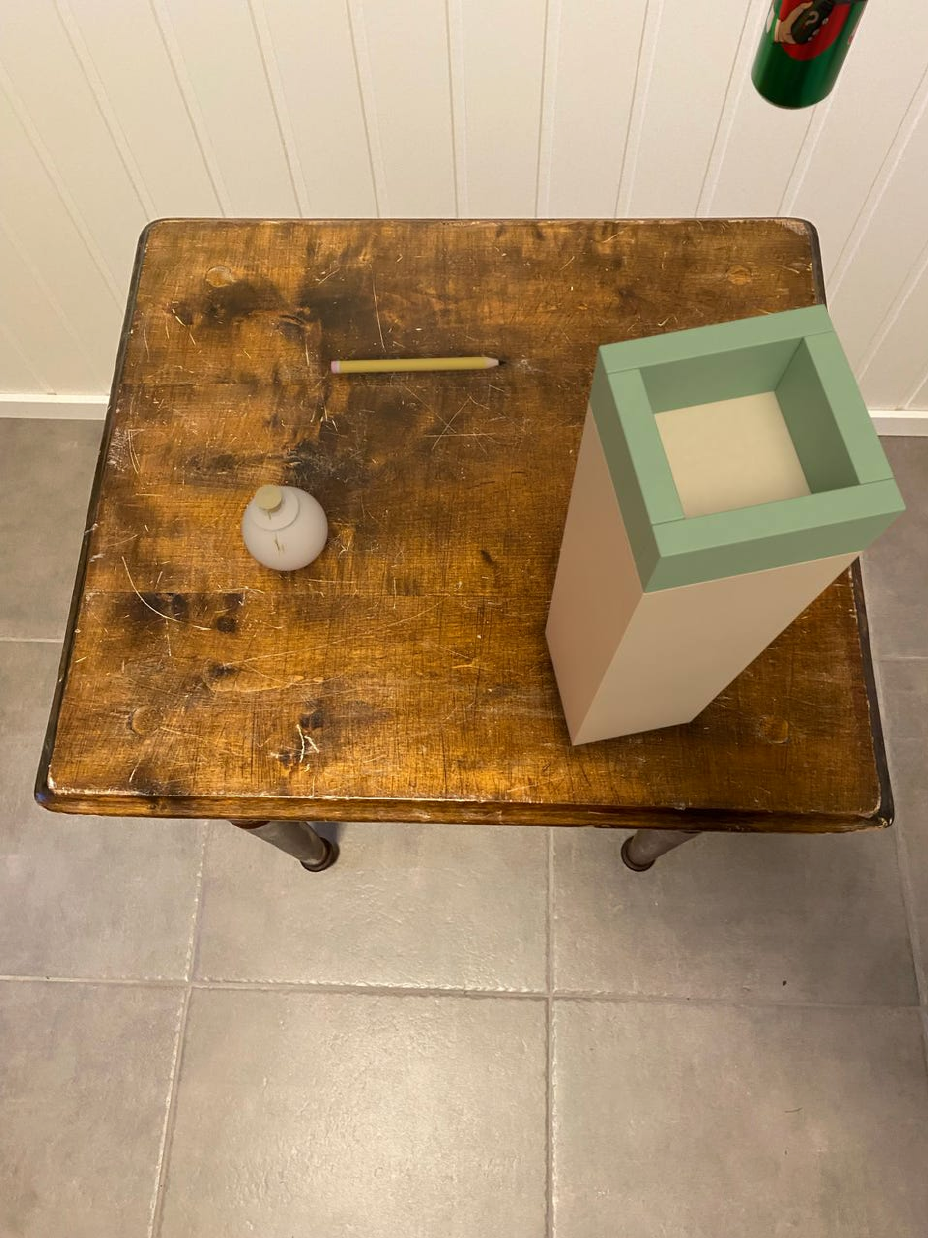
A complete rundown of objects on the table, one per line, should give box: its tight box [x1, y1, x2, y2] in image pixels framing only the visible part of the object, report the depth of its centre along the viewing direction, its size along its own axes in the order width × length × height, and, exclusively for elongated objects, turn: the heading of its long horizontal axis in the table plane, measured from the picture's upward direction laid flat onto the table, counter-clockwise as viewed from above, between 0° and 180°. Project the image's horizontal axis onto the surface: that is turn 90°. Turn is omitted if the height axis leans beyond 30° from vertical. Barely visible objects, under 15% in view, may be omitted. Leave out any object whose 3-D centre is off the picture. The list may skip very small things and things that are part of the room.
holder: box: [544, 303, 907, 747], centre depth 46 cm, size 8×8×34 cm
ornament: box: [241, 484, 329, 572], centre depth 61 cm, size 6×7×10 cm
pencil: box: [330, 356, 508, 375], centre depth 70 cm, size 1×14×1 cm, turn 91°
